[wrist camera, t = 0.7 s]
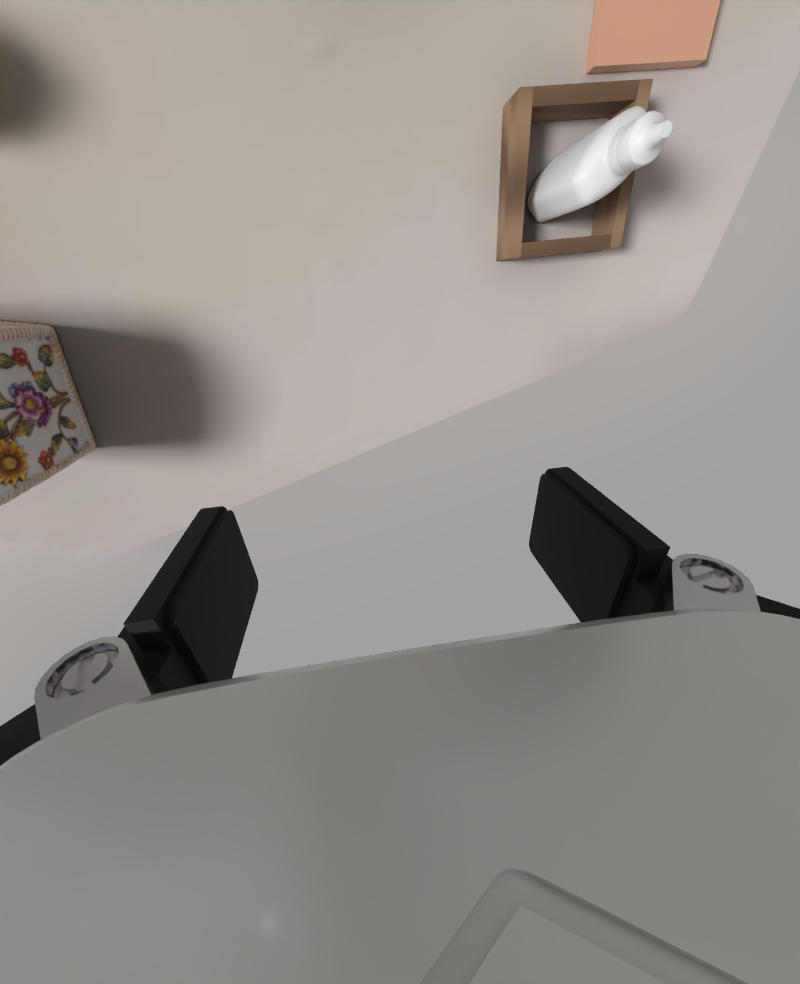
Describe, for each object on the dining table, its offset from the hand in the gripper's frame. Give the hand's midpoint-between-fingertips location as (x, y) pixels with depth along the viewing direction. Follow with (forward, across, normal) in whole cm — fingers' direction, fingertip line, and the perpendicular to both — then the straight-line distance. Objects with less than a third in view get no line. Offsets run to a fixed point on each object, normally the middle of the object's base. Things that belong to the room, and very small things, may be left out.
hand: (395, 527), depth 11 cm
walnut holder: (+28, -18, -13) cm, 36 cm away
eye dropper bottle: (+28, -18, -13) cm, 36 cm away
